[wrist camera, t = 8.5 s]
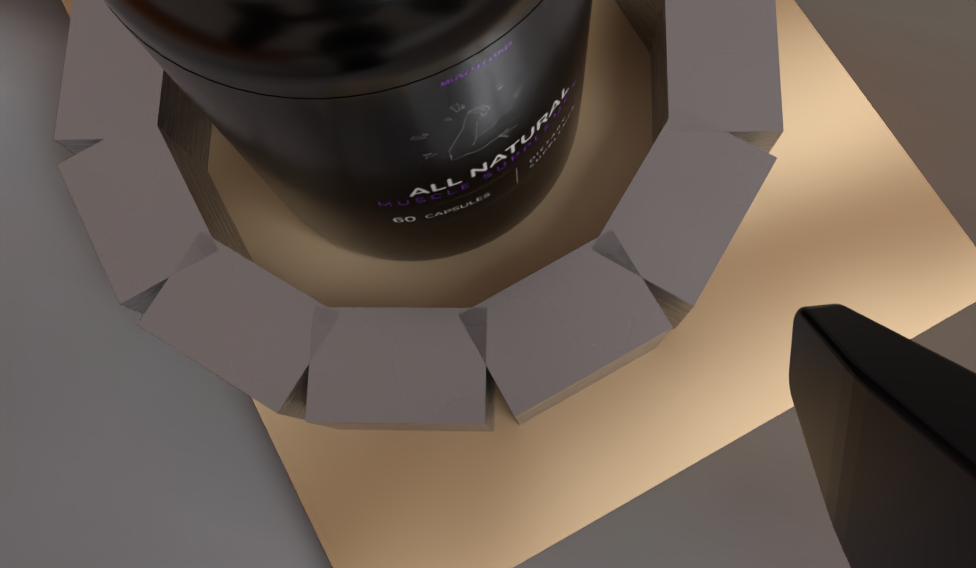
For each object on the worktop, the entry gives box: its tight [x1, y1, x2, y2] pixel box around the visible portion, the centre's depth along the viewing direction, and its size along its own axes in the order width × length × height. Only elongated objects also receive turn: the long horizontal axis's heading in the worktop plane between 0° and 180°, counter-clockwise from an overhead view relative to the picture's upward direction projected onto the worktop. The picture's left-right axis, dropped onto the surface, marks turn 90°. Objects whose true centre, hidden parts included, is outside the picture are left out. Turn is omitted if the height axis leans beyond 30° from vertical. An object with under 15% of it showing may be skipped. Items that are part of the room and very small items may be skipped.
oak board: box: [62, 0, 976, 568], centre depth 19 cm, size 18×14×1 cm
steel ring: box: [53, 0, 784, 432], centre depth 17 cm, size 14×14×2 cm
